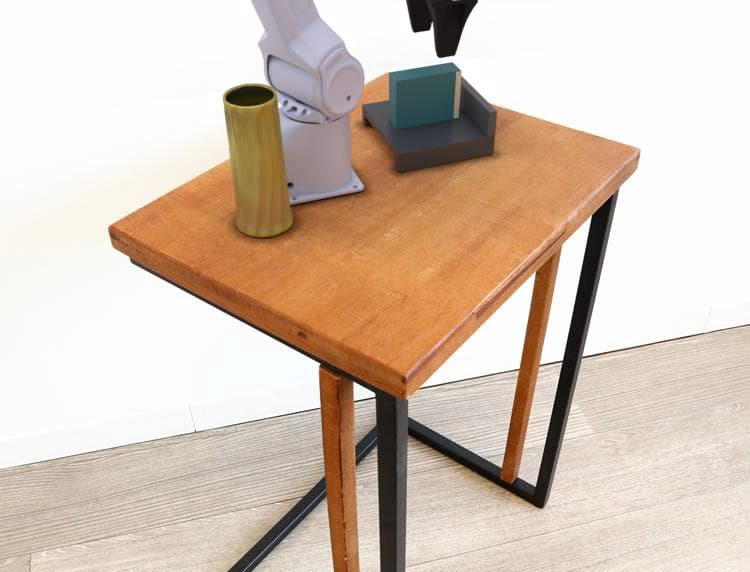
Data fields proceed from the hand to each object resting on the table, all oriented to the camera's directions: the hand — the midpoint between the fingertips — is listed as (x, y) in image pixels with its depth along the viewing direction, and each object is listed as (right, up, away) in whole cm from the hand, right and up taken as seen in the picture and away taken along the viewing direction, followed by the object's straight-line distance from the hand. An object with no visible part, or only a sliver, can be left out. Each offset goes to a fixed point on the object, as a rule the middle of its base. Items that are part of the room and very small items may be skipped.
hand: (433, 43), depth 98 cm
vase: (-19, -22, -8) cm, 30 cm away
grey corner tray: (-1, -10, +5) cm, 11 cm away
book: (-1, -8, +3) cm, 9 cm away
